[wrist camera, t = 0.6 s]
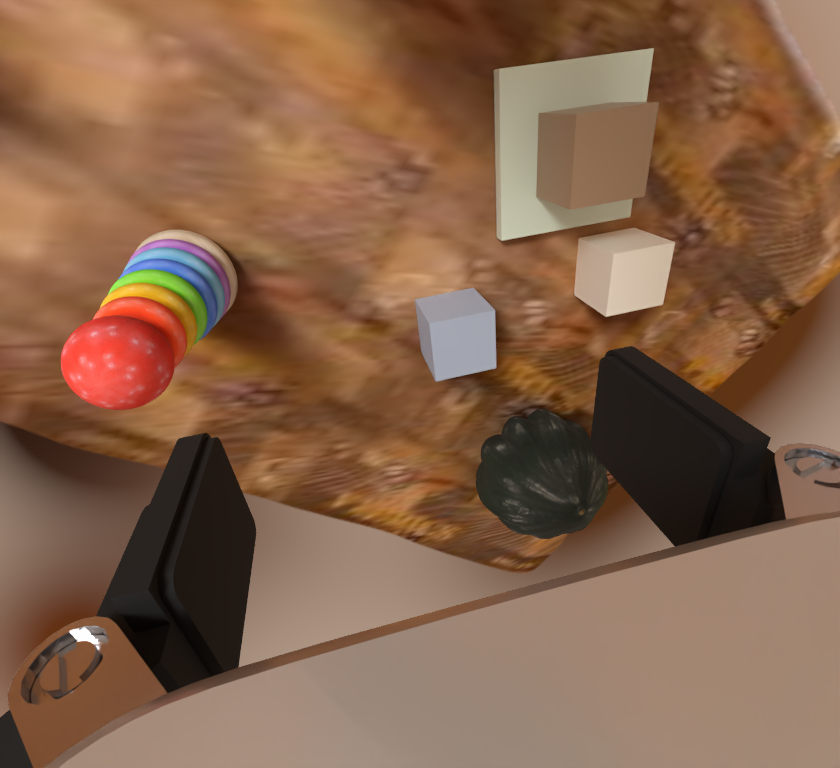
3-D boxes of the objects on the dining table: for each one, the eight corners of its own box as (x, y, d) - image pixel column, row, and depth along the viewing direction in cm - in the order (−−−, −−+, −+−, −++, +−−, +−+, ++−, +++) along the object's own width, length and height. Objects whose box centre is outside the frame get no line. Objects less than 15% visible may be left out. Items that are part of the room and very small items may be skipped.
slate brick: (414, 298, 43) (429, 323, 38) (473, 287, 44) (495, 310, 39) (421, 352, 47) (435, 381, 42) (476, 340, 47) (496, 368, 42)
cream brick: (578, 237, 44) (613, 254, 39) (633, 227, 45) (675, 242, 40) (573, 294, 47) (605, 316, 42) (625, 284, 48) (662, 304, 43)
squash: (527, 542, 59) (631, 567, 46) (438, 508, 52) (531, 526, 40) (549, 441, 63) (649, 438, 51) (470, 398, 57) (562, 383, 44)
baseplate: (493, 69, 35) (533, 62, 29) (644, 49, 36) (711, 38, 30) (496, 237, 42) (529, 259, 36) (622, 214, 44) (673, 231, 38)
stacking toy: (258, 273, 39) (229, 384, 23) (202, 336, 41) (141, 477, 25) (172, 205, 35) (68, 284, 19) (114, 278, 37) (-24, 404, 21)
